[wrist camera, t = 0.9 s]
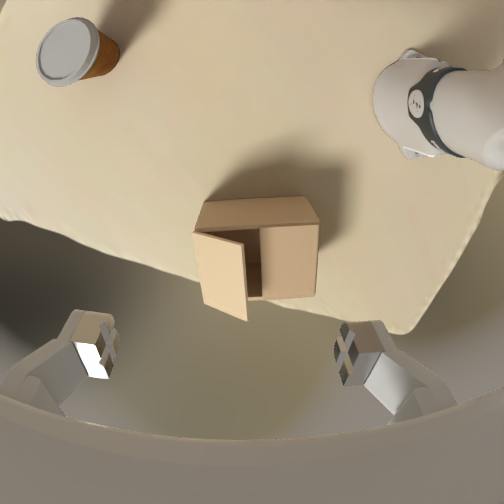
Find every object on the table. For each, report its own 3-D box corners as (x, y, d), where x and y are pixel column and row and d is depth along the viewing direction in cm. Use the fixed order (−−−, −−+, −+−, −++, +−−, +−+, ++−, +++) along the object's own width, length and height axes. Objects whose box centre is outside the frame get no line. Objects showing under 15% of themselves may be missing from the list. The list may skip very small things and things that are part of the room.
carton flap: (243, 243, 34) (241, 245, 34) (249, 319, 40) (247, 321, 39) (194, 230, 38) (192, 232, 37) (206, 301, 43) (204, 303, 43)
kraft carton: (305, 195, 46) (320, 222, 37) (303, 261, 52) (315, 298, 43) (203, 201, 46) (194, 230, 37) (212, 266, 52) (206, 304, 43)
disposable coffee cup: (126, 22, 31) (91, 4, 21) (132, 75, 36) (97, 71, 25) (74, 42, 32) (31, 35, 21) (80, 93, 36) (36, 98, 26)
